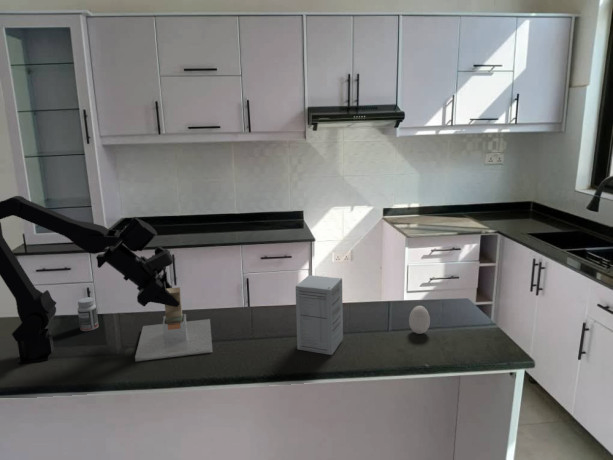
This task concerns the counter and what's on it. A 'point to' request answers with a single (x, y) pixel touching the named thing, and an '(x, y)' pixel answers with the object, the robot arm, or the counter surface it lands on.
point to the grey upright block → (319, 314)
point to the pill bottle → (87, 314)
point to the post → (174, 312)
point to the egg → (419, 320)
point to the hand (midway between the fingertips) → (178, 302)
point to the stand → (174, 339)
